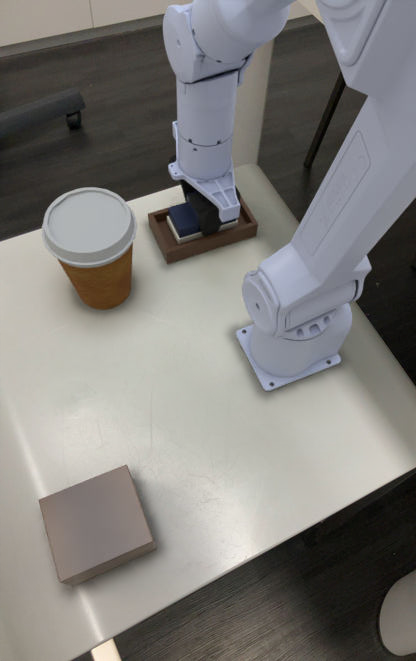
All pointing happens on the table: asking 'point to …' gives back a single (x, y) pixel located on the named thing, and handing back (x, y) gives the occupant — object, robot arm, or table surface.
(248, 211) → the brown wooden tray
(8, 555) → the table surface
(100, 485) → the grey brown block
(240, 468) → the table surface
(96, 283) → the disposable coffee cup
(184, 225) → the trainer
